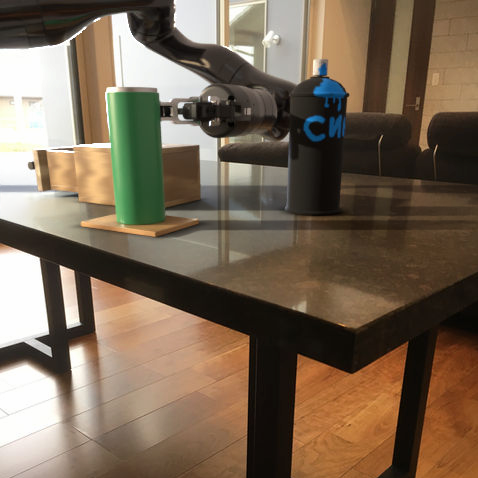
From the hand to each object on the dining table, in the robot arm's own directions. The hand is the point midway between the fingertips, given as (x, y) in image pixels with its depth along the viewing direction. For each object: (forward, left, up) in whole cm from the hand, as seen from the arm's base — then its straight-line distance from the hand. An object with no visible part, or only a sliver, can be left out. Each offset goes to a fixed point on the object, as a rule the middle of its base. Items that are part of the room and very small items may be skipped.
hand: (167, 111), depth 67 cm
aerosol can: (+15, +14, -14) cm, 25 cm away
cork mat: (0, -7, -14) cm, 15 cm away
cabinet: (-13, +9, -14) cm, 21 cm away
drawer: (-26, +9, -13) cm, 30 cm away
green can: (0, -6, -13) cm, 14 cm away
